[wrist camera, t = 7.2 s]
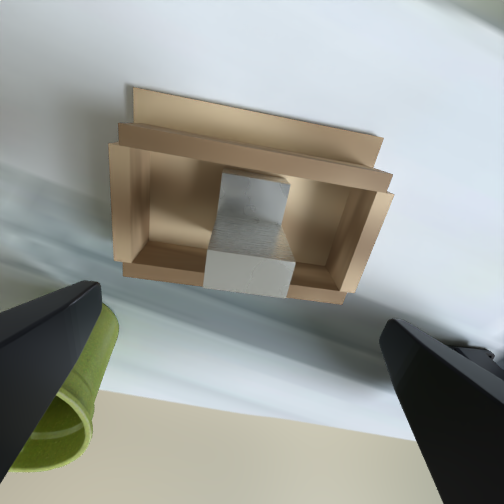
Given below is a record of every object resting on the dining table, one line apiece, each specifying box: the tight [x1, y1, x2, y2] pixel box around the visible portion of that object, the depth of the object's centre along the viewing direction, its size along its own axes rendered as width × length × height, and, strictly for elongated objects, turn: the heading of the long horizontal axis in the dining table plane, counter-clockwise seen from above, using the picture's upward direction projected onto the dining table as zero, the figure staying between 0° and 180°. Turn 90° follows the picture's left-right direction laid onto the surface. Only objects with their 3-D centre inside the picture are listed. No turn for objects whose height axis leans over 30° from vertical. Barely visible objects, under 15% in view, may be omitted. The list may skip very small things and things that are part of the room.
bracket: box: [203, 168, 296, 299], centre depth 15 cm, size 4×4×7 cm
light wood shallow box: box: [108, 87, 394, 305], centre depth 17 cm, size 12×15×4 cm
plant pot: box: [8, 303, 119, 472], centre depth 19 cm, size 9×9×9 cm
